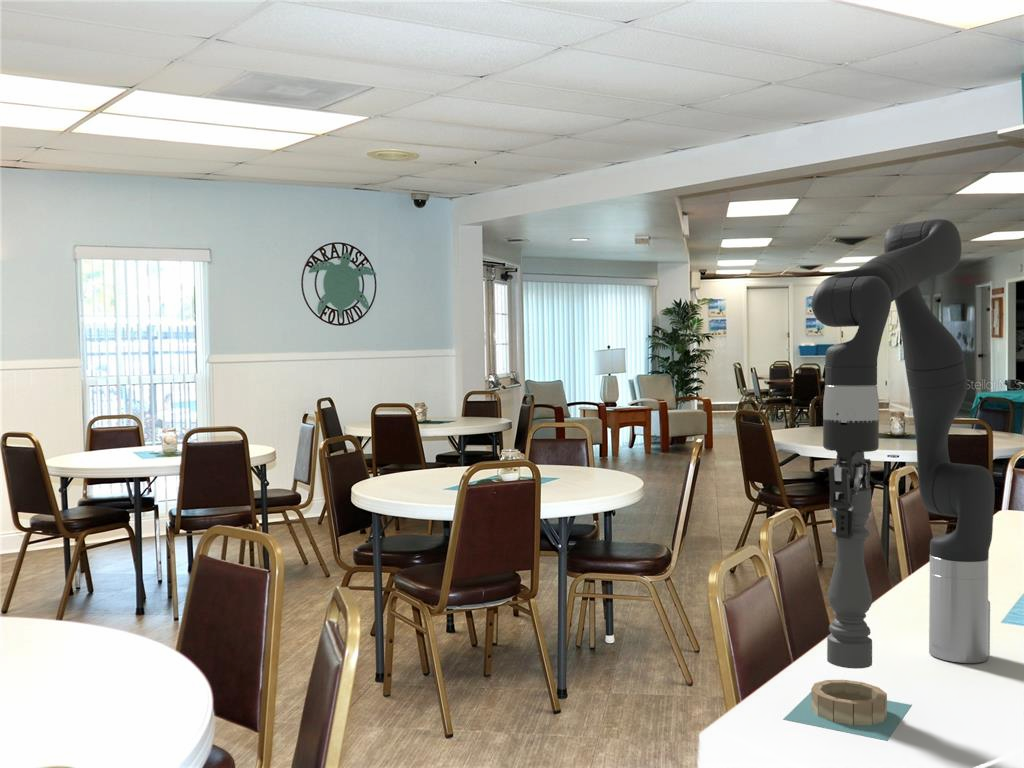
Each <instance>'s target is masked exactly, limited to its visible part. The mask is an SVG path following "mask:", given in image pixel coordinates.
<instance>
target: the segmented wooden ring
mask: <svg viewBox="0 0 1024 768" xmlns="http://www.w3.org/2000/svg"><path fill="white" fill-rule="evenodd" d="M810 692H811V709H812V710H813V711H814V712H815V713H816V714H817V716H819V717H822V718H825V719H827V720H830V721H834V722H838V723H844V724H850V725H873V724H876V723H880V722H883V721H885V718H886V716H887V700H888V694H887V692H886V691H884V690H883V689H881V688H880V687H878V686H876V685H872V684H869V683H866V682H863V681H856V680H849V679H825V680H822V681H818V682H817V681H816V682H815V683H813V685H812V687H811V691H810Z"/></svg>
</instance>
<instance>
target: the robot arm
mask: <svg viewBox="0 0 1024 768" xmlns="http://www.w3.org/2000/svg"><path fill="white" fill-rule="evenodd" d="M883 243H884V245H883V246H884V247H883V249H884V253H882V254H879V255H876V256H875V257H873V258H871V259H870V260H868V261H867V262H865V263H863V264H862V265H861V266H859V267H857V268H855V269H854V268H853V269H851V270H847V271H843V272H839V273H837V274H834V275H832V276H829V277H827V278H825V279H823V280H822V281H821V282H820V283H819V284H818V285H817V287H816V289H815V290H814V291H813V293H812V294H813V295H812V298H811V308H812V312H813V315H814V317H815V318H816V320H817V321H818V322H819V323H821V324H822V325H824V326H827V327H831V328H840V327H841V328H846V327H858V329H857V331H856V332H855V335H854V337H852V339H851V340H848V341H845V342H841V343H836V344H833V345H830V346H829V347H828V348H827V350H826V352H825V357H824V358H825V360H824V361H825V362H824V363H825V370H824V373H825V374H824V376H825V378H824V379H825V380H824V381H825V382H824V393H823V400H822V401H823V407H822V408H823V409H822V416H823V418H822V421H823V422H822V434H823V435H822V447H823V449H825V450H827V451H830V452H831V451H832V452H833V451H834V452H836V454H837V455H836V460H835V463H833V465H830V466H829V468H828V479H829V480H828V481H829V485H828V486H829V507H830V506H831V508H834V510H835V511H836V523H835V526H836V536H837V537H838V538H847V539H850V538H851V537H853V510H854V499H855V497H857V496H858V495H859V489H860V487H861V488H869V489H871V487H870V486H871V484H870V483H871V482H870V481H871V465H872V461H871V459H870V458H865V453H870V452H876V451H877V450H878V449H879V447H880V446H879V445H880V440H879V439H880V434H879V433H880V430H879V429H880V428H879V426H880V424H879V423H880V419H879V418H880V399H879V393H878V356H879V350H880V345H881V342H882V338H883V334H884V331H885V328H886V324H887V321H888V317H889V315H890V312H891V307H892V303H893V302H895V308H896V311H897V316H898V323H899V328H900V334H901V341H902V342H901V343H902V349H903V357H904V365H905V373H906V379H907V387H908V392H909V397H910V401H911V402H910V403H911V408H912V409H911V410H912V414H913V423H914V424H913V425H914V432H915V441H916V459H917V461H916V463H917V481H918V492H919V496H920V499H921V502H922V505H923V506H924V508H925V509H926V510H927V511H928V512H930V513H932V514H934V515H940V516H946V517H954V518H957V522H956V528H955V529H954V530H953V531H952V532H950V533H946V534H941V535H937V536H933V537H932V539H931V540H930V541H929V595H928V596H929V603H928V605H929V607H928V609H929V610H928V611H929V612H928V614H929V617H928V619H929V620H928V621H929V622H928V624H929V626H928V653H929V654H930V655H931V656H932V657H935V658H938V659H940V660H944V661H949V662H954V663H961V664H979V663H983V662H986V661H987V660H988V658H989V656H990V655H991V653H990V651H991V602H990V600H989V557H990V553H989V552H990V548H991V543H992V539H993V529H994V528H993V527H994V514H995V513H994V511H995V497H996V495H995V492H996V491H995V481H994V478H993V475H992V474H991V472H990V471H989V469H988V468H986V467H984V466H982V465H976V464H969V463H968V464H966V463H957V462H956V463H954V462H951V460H950V459H951V458H950V455H949V447H948V446H949V443H948V442H949V439H948V438H949V433H950V429H951V426H952V424H953V423H954V420H955V419H956V416H957V415H958V413H959V411H960V409H961V407H962V405H963V403H964V400H965V398H966V394H967V392H968V378H967V370H966V363H965V358H964V357H965V355H964V351H963V348H962V346H961V345H960V343H959V342H958V340H957V339H956V338H955V337H954V335H952V333H951V332H950V331H949V330H948V329H947V327H946V326H945V325H944V324H943V323H942V322H941V321H940V320H939V319H938V318H937V317H936V315H935V314H934V313H933V311H932V310H931V309H930V307H929V306H928V305H927V303H926V301H925V299H924V297H923V295H922V292H921V289H920V286H919V285H920V284H922V283H924V282H926V281H928V280H930V279H933V278H934V277H937V276H941V275H945V274H948V273H950V272H953V271H954V270H955V269H956V268H957V266H958V265H959V263H960V260H961V257H962V239H961V235H960V232H959V230H958V227H956V225H955V224H954V223H953V222H952V221H951V220H949V219H945V218H943V219H942V218H934V219H927V220H922V221H915V222H911V223H910V222H909V223H903V224H898V225H894V226H893V225H892V226H891V227H890V228H888V229H887V231H886V233H885V236H884V242H883ZM841 495H844V500H840V496H841Z"/></svg>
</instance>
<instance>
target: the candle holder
mask: <svg viewBox="0 0 1024 768" xmlns="http://www.w3.org/2000/svg"><path fill="white" fill-rule="evenodd" d="M840 500H844V495H841V496H840ZM829 511H831V517H832V518H833V520H834V523H835V524H836V511H835V510H834V508H831V506H830V505H829ZM871 513H872V489H871V488H861V487H860V489H859V495H858V496H857V497H855V499H854V510H853V537H851V538H850V539H847V538H838V537H837V536H836V525H835V526H834V527H832V528H831V529H830V530H831V533H830V534H831V535H832V536H833V537H834V539H835V562H834V566H833V569H832V570H833V571H832V575H831V579H830V582H829V583H830V584H829V586H828V591H827V601H828V604H829V605H830V608H831V609H832V610H833V616H834V617H835V618H834V619H833V620H832V621H831V623H830V624H829V625H828V630H829V632H830V634H828V635H827V639H826V641H827V643H826V644H827V645H826V656H827V657H826V660H827V663H829V664H831V665H833V666H836V667H839V668H844V669H859V670H860V669H867V668H870V667H872V666H873V639H872V638H871V637H869V636H870V635H871V628H870V626H868V623H867V622H866V621H865V619H866V617H867V614H866V613H868V611H869V610H870V608H871V606H872V604H873V594H872V590H871V587H870V582H869V577H868V572H867V569H866V563H865V541H866V540H867V539H868V538H869V537H870V531H869V530H868V529H867V528H866V527H865V525H866V524H867V521H868V519H870V515H869V514H871Z"/></svg>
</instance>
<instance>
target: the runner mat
mask: <svg viewBox="0 0 1024 768" xmlns="http://www.w3.org/2000/svg"><path fill="white" fill-rule="evenodd" d="M912 705H913V704H909V703H903V702H897V701H892V700H888V699H887V716H886V718H885V721H883V722H880V723H876V724H873V725H850V724H844V723H838V722H834V721H830V720H827V719H825V718H822V717H819V716H817V714H816V713H815V712H814V711H813V710H812V709H811V691H810V692H809V693H808V694H807V696H805V697H804V698H803V699H802V700H801V701H800V702H799V703H798V704H797V705H795V707H794V708H793V709H791V711H790V712H789V713H788V714H786V716H785V717H783V719H782V720H784V721H789V722H794V723H799V724H803V725H808V726H812V727H817V728H822V729H827V730H832V731H838V732H841V733H842V732H843V733H848V734H851V735H856V736H862V737H866V738H871V739H872V738H873V739H877V740H882V741H886V742H887V741H888V740H889V739H890V737H892V735H893V733H894V732H895V730H896V729H897V727H898V726H899V725H900V723H901V721H902V720H903V719H904V718H905V715H906V714H907V713H908V712H909V710H910V709H911V707H912Z"/></svg>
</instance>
